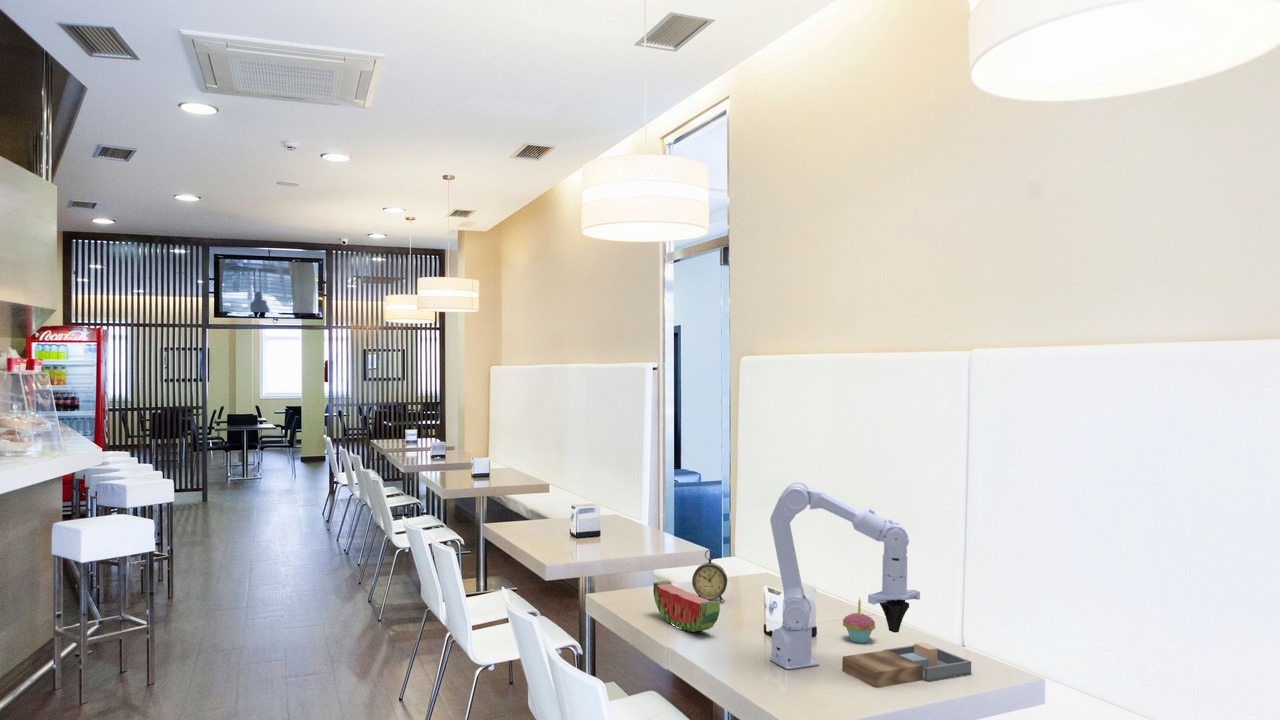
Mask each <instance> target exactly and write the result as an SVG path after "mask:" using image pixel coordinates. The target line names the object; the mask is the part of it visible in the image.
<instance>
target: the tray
mask: <svg viewBox="0 0 1280 720" xmlns="http://www.w3.org/2000/svg"><path fill="white" fill-rule="evenodd" d="M929 645H930V644H929ZM930 646H932V645H930ZM934 647H935V648H937V666H933V667H926V668H925V670H923V680H922V681H925V682H927V681H929V682H933V681H932V680H935V681H939V679H940V680H944V679H943V678H946V679H950V678H949V677H952V678H955V677H954V676H958V677H960V676H959V675H964V676H967V675H966V674H969V675H972V661H970V660H968V659H966V658H964V657H960V656H958V655H956V654H953V653H950V652H948V651H946V650H943V649H941V648H938V647H936V646H934ZM884 650H889V651H891V652H894V653H896V654H898V655H902V654H908V653H914V644H913V645H907V646H899V647H893V648H886V649H884Z"/></svg>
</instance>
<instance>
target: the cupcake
mask: <svg viewBox="0 0 1280 720" xmlns="http://www.w3.org/2000/svg"><path fill="white" fill-rule="evenodd" d="M861 604H862V601H861V597H859V598H858V601H857V612H854V613H850V614H848V615H847V616H846V615H845V617H844V618H843V620H842V626H843V627H845V629H846V630H847V633H848V636H849V641H851V642H853V643H858V644H866V643H868V642H869V640H870V637H871V634H872V632H873V630H875V629H876V624H875V623H876V621H874V619H873V618H872V617H870V616H869V615H867V614H864V613H861V609H862V607H861V606H862V605H861Z"/></svg>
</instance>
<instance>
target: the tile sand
mask: <svg viewBox="0 0 1280 720" xmlns="http://www.w3.org/2000/svg"><path fill="white" fill-rule="evenodd" d="M913 645H914V654H917V655H919V656H922V657H924V658H927V659H928V667H933V666H937V648H938V647H936V646H934V645H931V646H930V644H928V643H925V642H916V643H914V644H913ZM935 647H936V648H935Z"/></svg>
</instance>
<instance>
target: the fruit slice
mask: <svg viewBox="0 0 1280 720" xmlns="http://www.w3.org/2000/svg"><path fill="white" fill-rule="evenodd" d="M652 587H653V589H652V590H653V591H652V593H653V596H654V602H655V605H656V607H657V609H658V613H659V614H660V615H661V617H663V618H664V619H665V620H666V622H667V623H668V624H669V623H672V624H674V625H675V626H677V627H679V628H681V629H683V630H682V631H685V630H686V632H689V633H691V632H700V631H707V630H710V629H712V628H714V626H715V624H716V622H717V621H718V618H719V616H720V611H721V601H719V600H709V599H704V598H702V597H698V594H697V593H692V592H690V591H687V590H685V589H682V588H681V587H678V586H675V585H674V584H672V582H671V581H670V580H664V581H657V582H656V581H655V582H653V586H652ZM681 629H680V630H681Z"/></svg>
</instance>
